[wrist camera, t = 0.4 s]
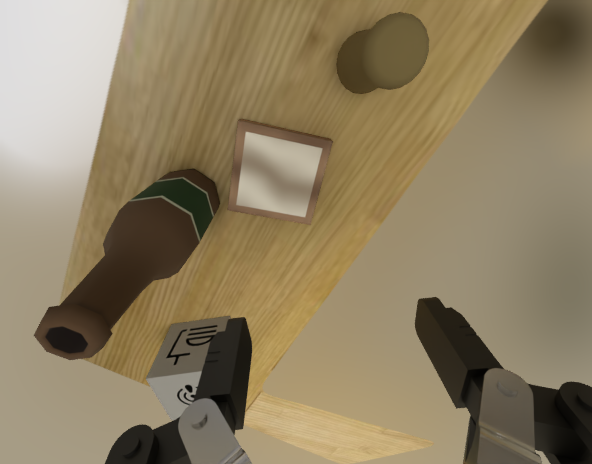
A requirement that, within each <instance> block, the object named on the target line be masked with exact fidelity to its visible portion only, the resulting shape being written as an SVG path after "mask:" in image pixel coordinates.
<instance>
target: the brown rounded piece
mask: <svg viewBox="0 0 592 464" xmlns="http://www.w3.org/2000/svg"><path fill="white" fill-rule="evenodd" d="M428 51H429V38H428V34H427V30H426V28H425V26H424V25H423V23H422V22H421V20H419V19H418V18H416V17H415V16H414V15H412V14H407V13H401V12H399V13H394V14H389V15H388V16H386V17H384V18H383V19H381V20H379V21H378V22H377V23H376V24H375V25H374V26H373V27H372V29H369V30H363V31H359V32H356V33H355V34H353V35H351V36H350V37H349V38H348V39H347V40H346V41H345V42H344V43H343V45H342V47H341V49H340V51H339V53H338V58H337V74H338V76H339V79H340V81H341V83H342V84H343V85H344V86H345V88H346V89H348V90H350V91H351V92H353V93H359V94H363V93H368V92H371V91H373V90H375V89H377V88H382V89H388V90H391V89H396V88H400V87H402V86H404V85H406V84H408V83H409V82H411V81H412V80H413V79H414V78H415V77H416V76H417V75H418V74H419V73H420V71H421V69H422V67H423V66H424V64H425V62H426V58H427V55H428Z"/></svg>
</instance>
